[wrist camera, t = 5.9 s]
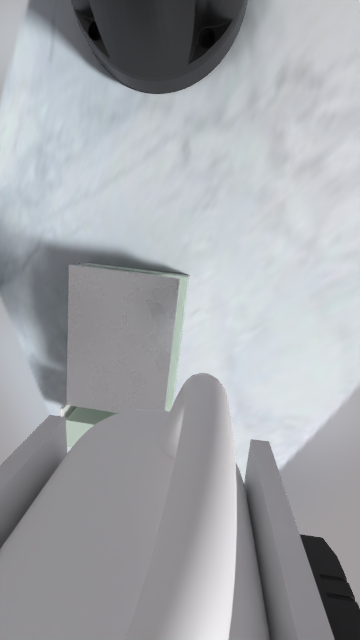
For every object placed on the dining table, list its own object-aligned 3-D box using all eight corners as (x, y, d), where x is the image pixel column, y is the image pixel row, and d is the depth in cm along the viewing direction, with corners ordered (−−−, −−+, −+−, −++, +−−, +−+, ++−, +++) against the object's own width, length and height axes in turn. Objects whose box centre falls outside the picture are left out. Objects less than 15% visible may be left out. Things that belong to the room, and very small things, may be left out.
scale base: (91, 263, 30) (57, 264, 23) (189, 275, 29) (184, 280, 22) (85, 413, 34) (55, 451, 27) (170, 427, 33) (161, 470, 27)
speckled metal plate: (83, 264, 27) (68, 264, 24) (182, 276, 26) (179, 278, 23) (79, 390, 30) (66, 404, 27) (167, 404, 29) (163, 420, 26)
